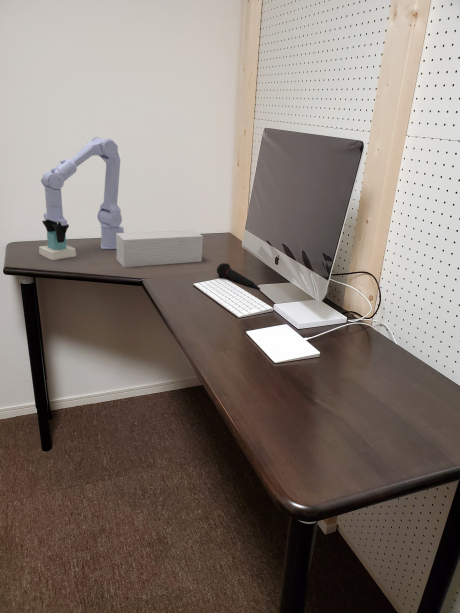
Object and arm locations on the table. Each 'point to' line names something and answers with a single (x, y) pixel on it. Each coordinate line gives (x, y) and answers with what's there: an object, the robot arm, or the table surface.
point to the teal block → (55, 241)
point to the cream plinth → (57, 252)
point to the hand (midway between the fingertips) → (56, 240)
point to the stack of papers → (158, 247)
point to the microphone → (234, 275)
